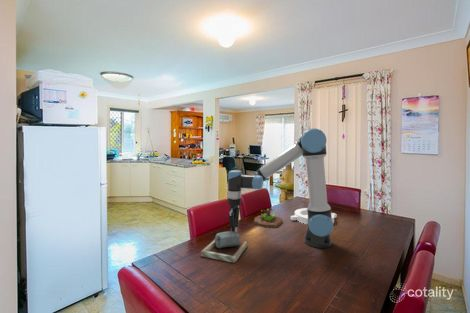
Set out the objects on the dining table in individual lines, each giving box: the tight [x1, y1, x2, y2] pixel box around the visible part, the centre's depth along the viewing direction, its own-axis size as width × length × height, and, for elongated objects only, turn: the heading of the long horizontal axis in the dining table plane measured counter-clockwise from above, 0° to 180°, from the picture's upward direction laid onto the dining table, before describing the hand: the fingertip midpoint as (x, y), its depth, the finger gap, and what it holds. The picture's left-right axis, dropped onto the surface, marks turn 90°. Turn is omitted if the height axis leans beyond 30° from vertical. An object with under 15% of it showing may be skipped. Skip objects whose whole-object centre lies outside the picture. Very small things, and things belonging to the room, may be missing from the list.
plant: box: [253, 207, 284, 229], centre depth 173 cm, size 20×20×11 cm
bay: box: [200, 238, 248, 264], centre depth 129 cm, size 18×20×2 cm
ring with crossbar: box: [289, 207, 338, 225], centre depth 181 cm, size 28×28×5 cm
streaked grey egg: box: [214, 230, 240, 249], centre depth 134 cm, size 14×10×10 cm
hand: (233, 238), depth 140 cm, fingers closed
